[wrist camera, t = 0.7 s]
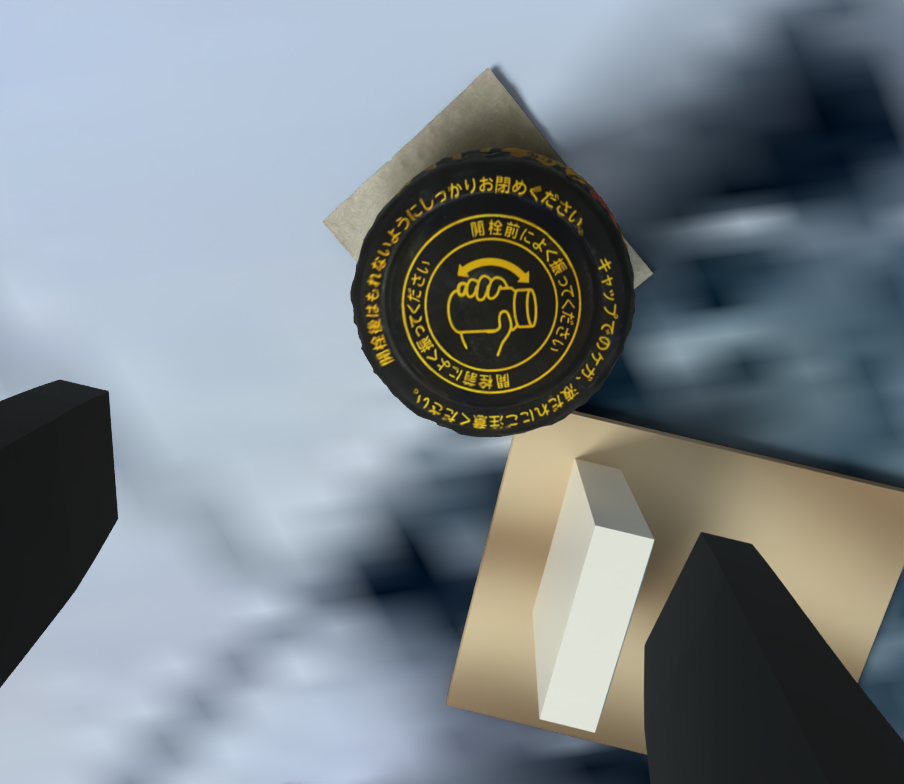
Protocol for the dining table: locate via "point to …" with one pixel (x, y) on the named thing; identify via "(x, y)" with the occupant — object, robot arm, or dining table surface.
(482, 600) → the mat
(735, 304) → the dining table surface
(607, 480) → the block
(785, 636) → the robot arm
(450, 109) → the condiment
